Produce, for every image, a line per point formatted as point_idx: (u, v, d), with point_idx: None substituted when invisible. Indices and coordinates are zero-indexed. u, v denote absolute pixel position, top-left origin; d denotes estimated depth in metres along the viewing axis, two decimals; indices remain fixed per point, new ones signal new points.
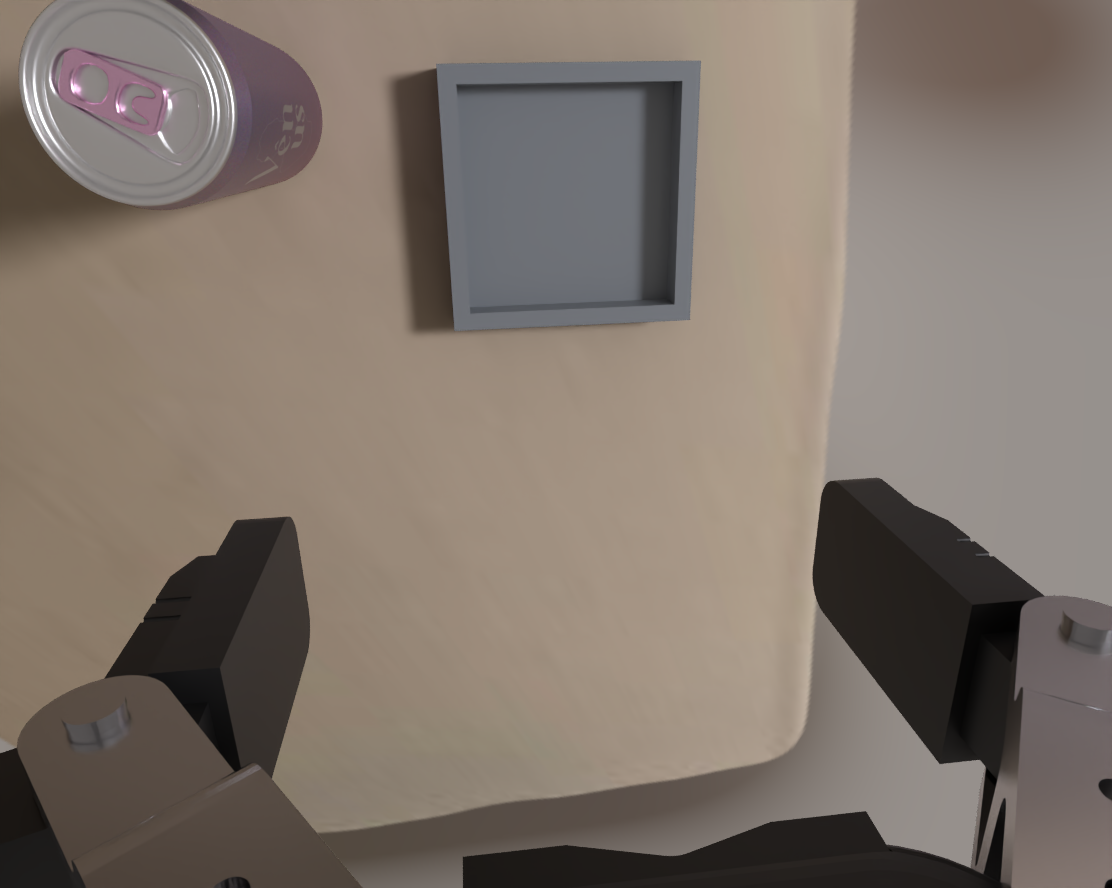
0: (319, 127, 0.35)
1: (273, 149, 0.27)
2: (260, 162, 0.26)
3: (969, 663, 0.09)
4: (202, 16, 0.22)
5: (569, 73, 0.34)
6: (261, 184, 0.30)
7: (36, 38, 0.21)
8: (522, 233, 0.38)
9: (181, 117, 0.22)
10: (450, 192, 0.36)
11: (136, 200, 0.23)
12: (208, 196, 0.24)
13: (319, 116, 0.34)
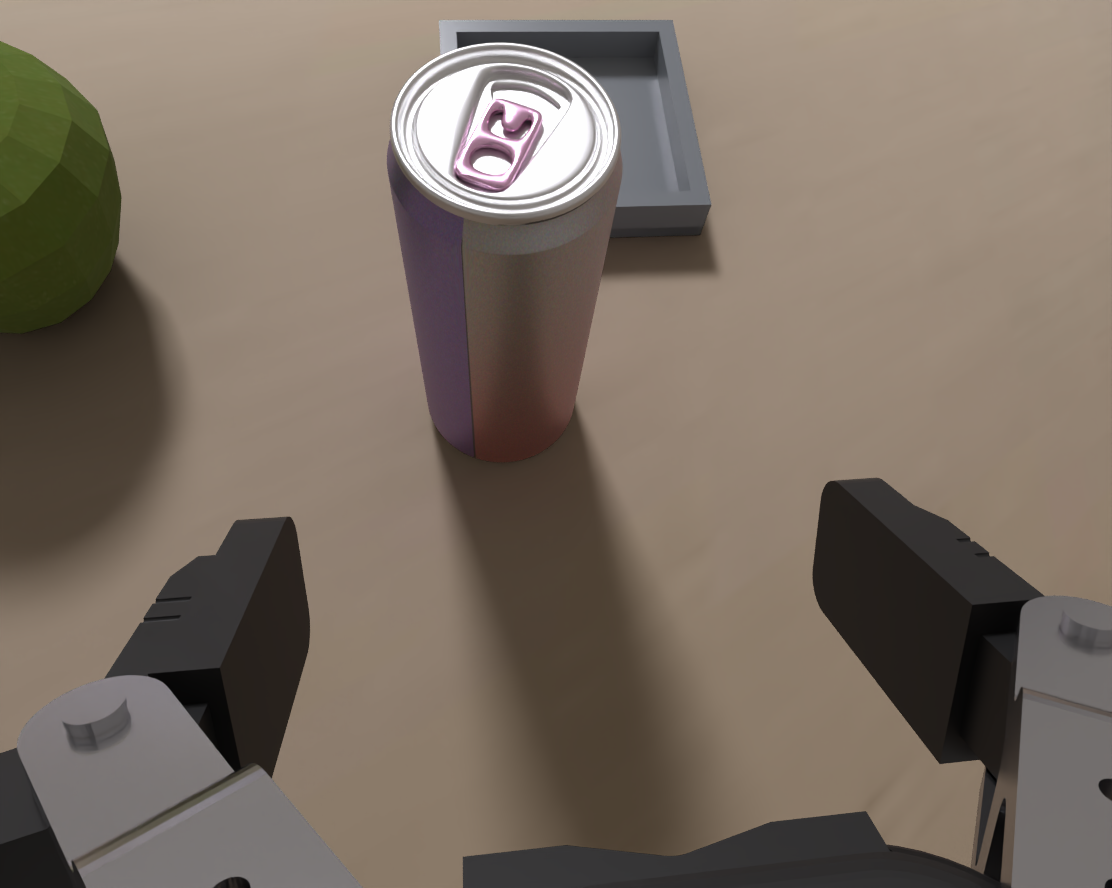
0: None
1: None
2: None
3: (969, 663, 0.09)
4: None
5: None
6: None
7: (445, 196, 0.18)
8: None
9: (520, 103, 0.20)
10: None
11: (615, 131, 0.19)
12: None
13: None
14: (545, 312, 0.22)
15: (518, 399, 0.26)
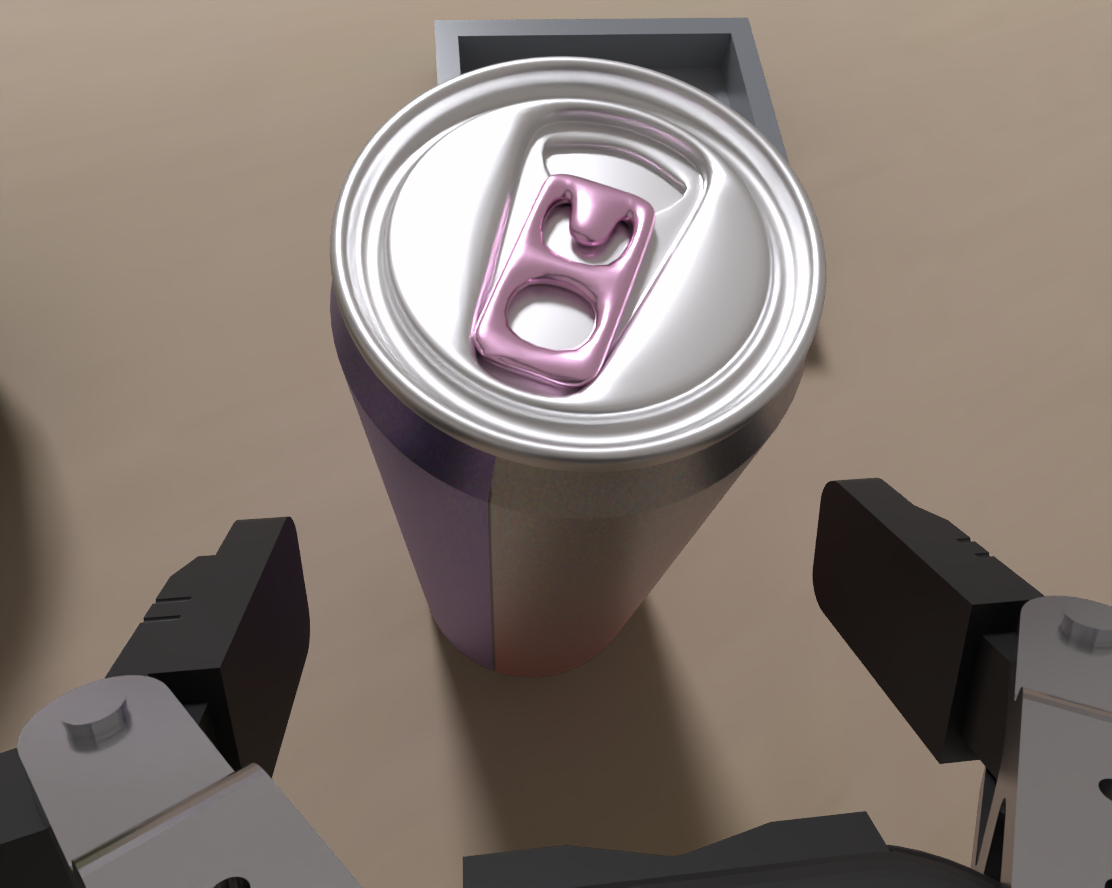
0: None
1: None
2: None
3: (969, 663, 0.09)
4: None
5: None
6: None
7: (453, 409, 0.08)
8: None
9: (604, 180, 0.10)
10: None
11: (814, 245, 0.09)
12: None
13: None
14: (641, 564, 0.11)
15: (571, 638, 0.16)
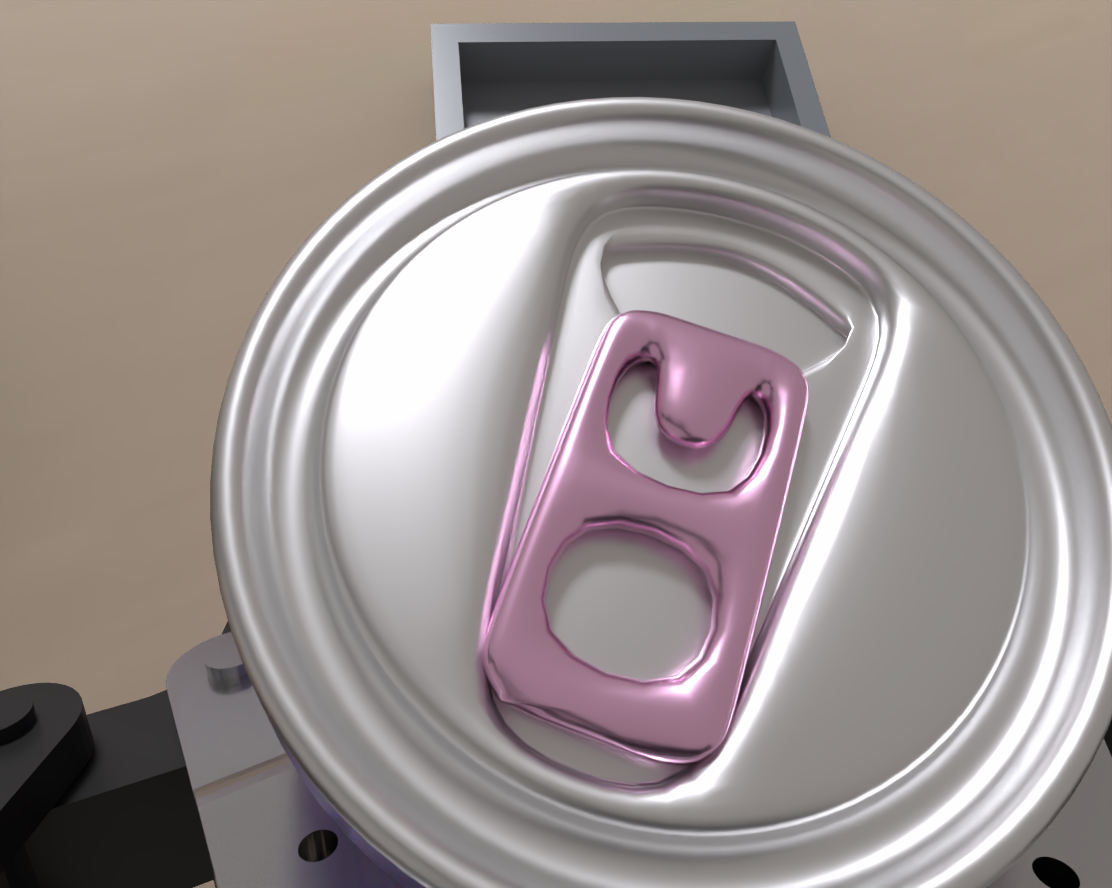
0: None
1: None
2: None
3: None
4: None
5: None
6: None
7: (442, 838, 0.04)
8: None
9: (705, 310, 0.06)
10: None
11: (1107, 453, 0.05)
12: None
13: None
14: None
15: None
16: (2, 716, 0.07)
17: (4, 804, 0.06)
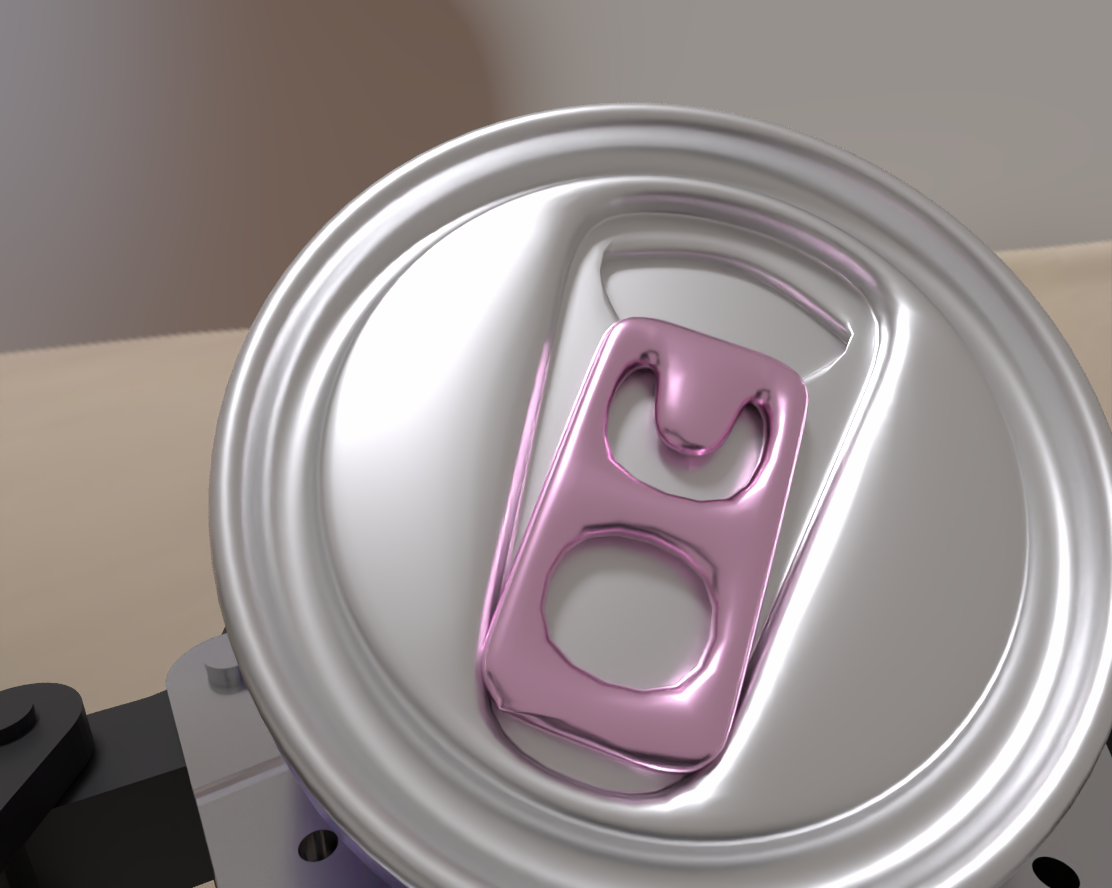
0: None
1: None
2: None
3: None
4: None
5: None
6: None
7: (440, 848, 0.04)
8: None
9: (704, 317, 0.06)
10: None
11: (1107, 461, 0.05)
12: None
13: None
14: None
15: None
16: (3, 716, 0.07)
17: (4, 804, 0.06)
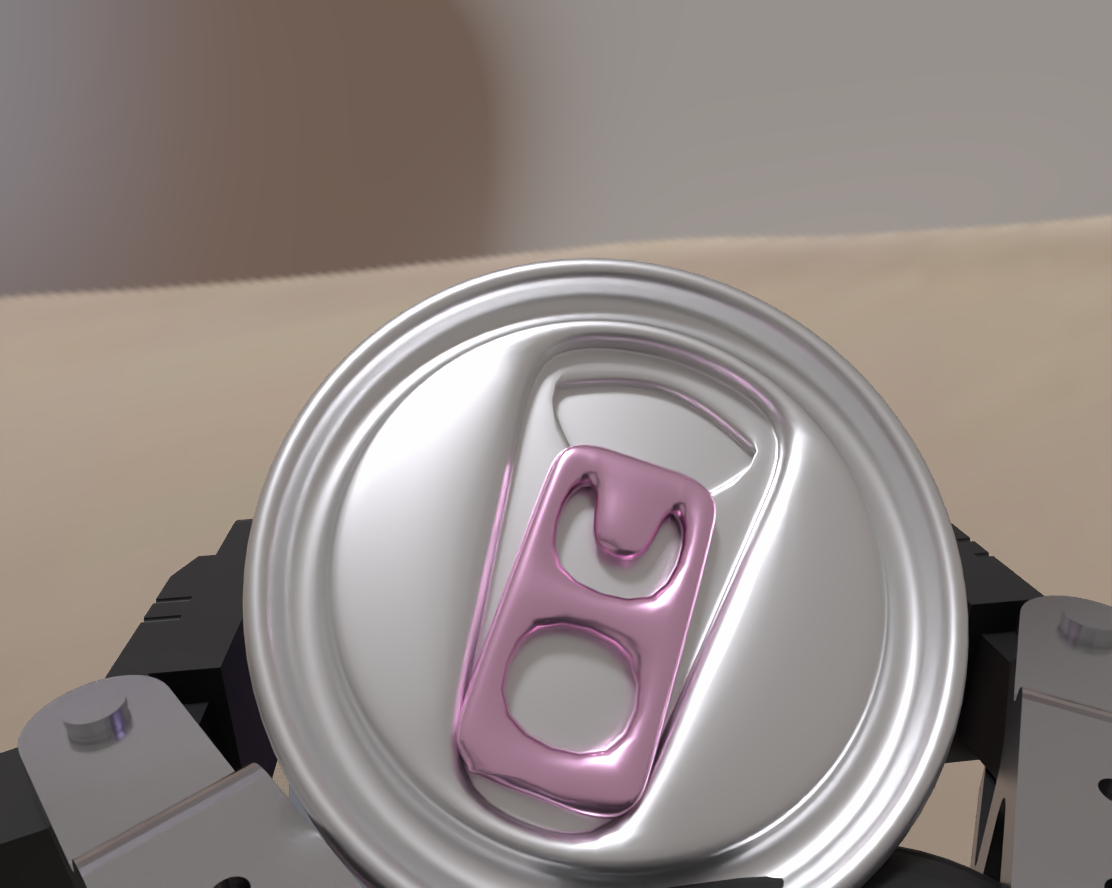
0: None
1: None
2: None
3: (968, 663, 0.09)
4: None
5: None
6: None
7: (425, 879, 0.05)
8: None
9: (638, 435, 0.07)
10: None
11: (949, 561, 0.06)
12: None
13: None
14: None
15: None
16: None
17: None
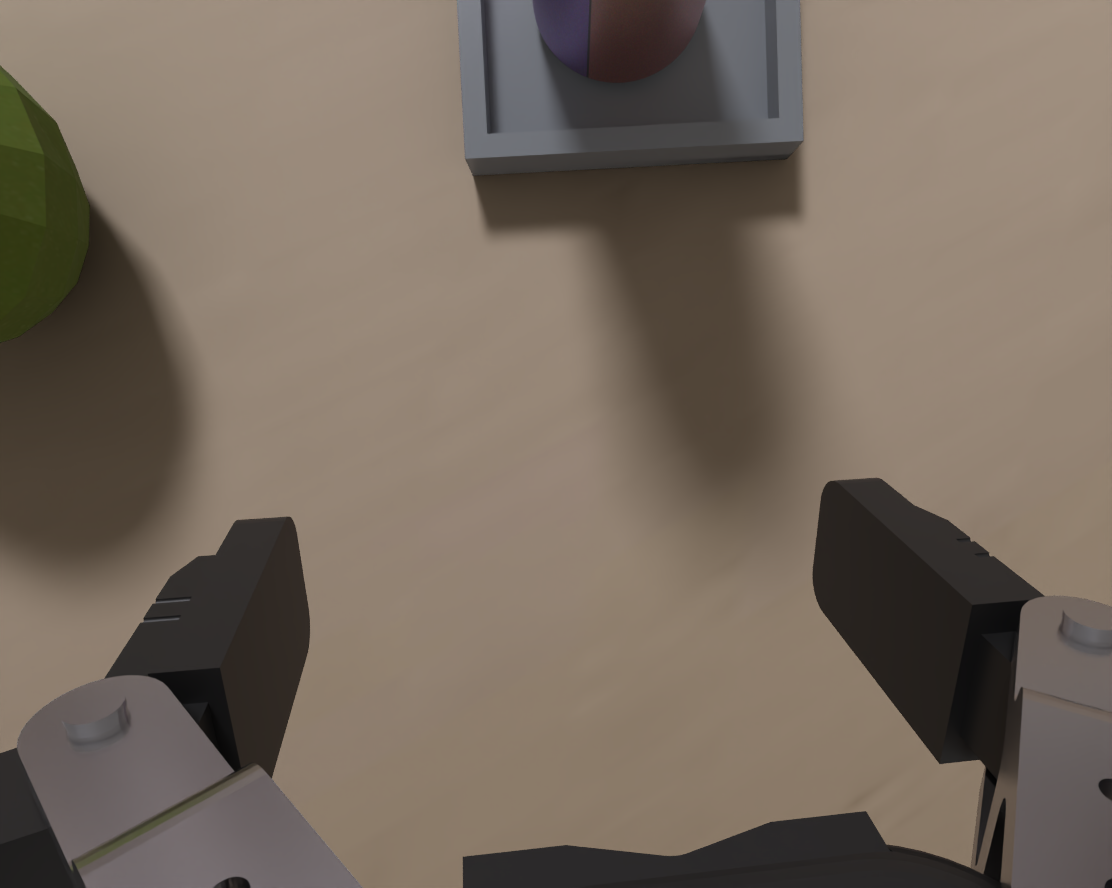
0: None
1: None
2: None
3: (969, 663, 0.09)
4: None
5: None
6: None
7: None
8: None
9: None
10: (617, 143, 0.27)
11: None
12: None
13: None
14: None
15: (646, 6, 0.22)
16: None
17: None
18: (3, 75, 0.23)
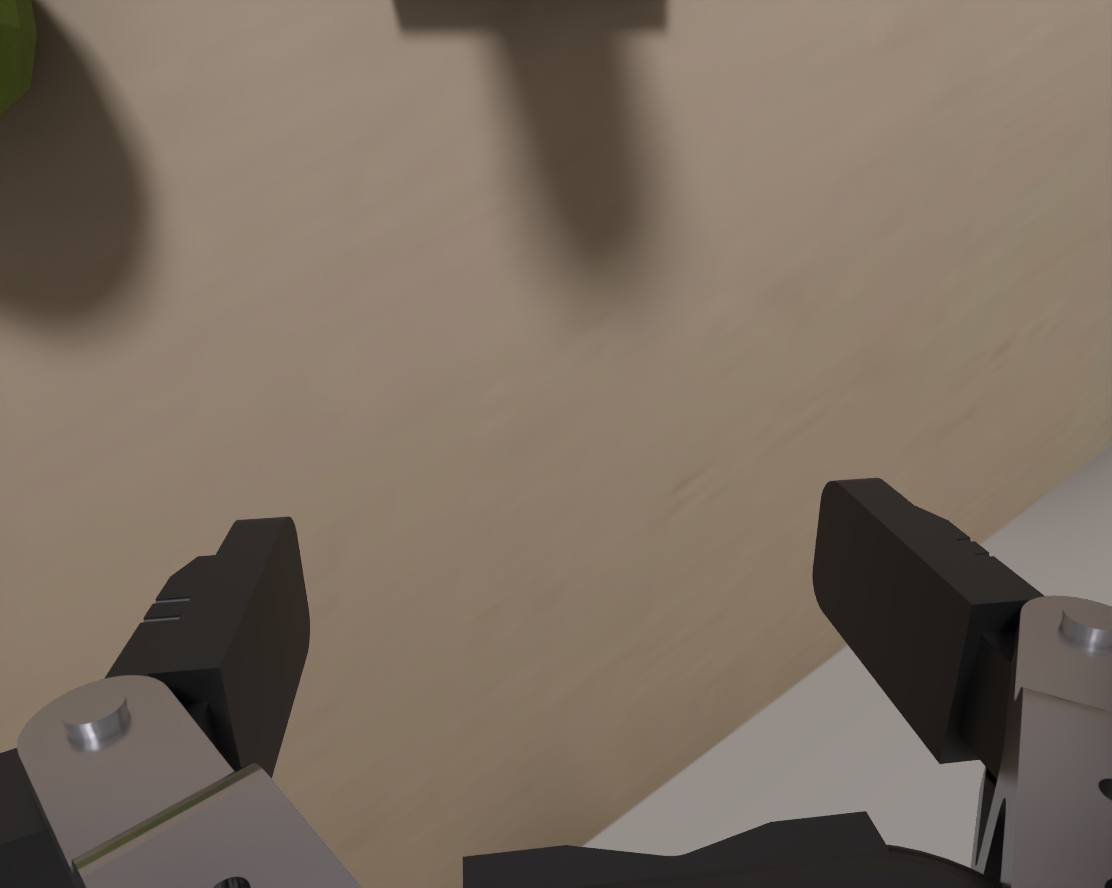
0: None
1: None
2: None
3: (969, 663, 0.09)
4: None
5: None
6: None
7: None
8: None
9: None
10: None
11: None
12: None
13: None
14: None
15: None
16: None
17: None
18: None
